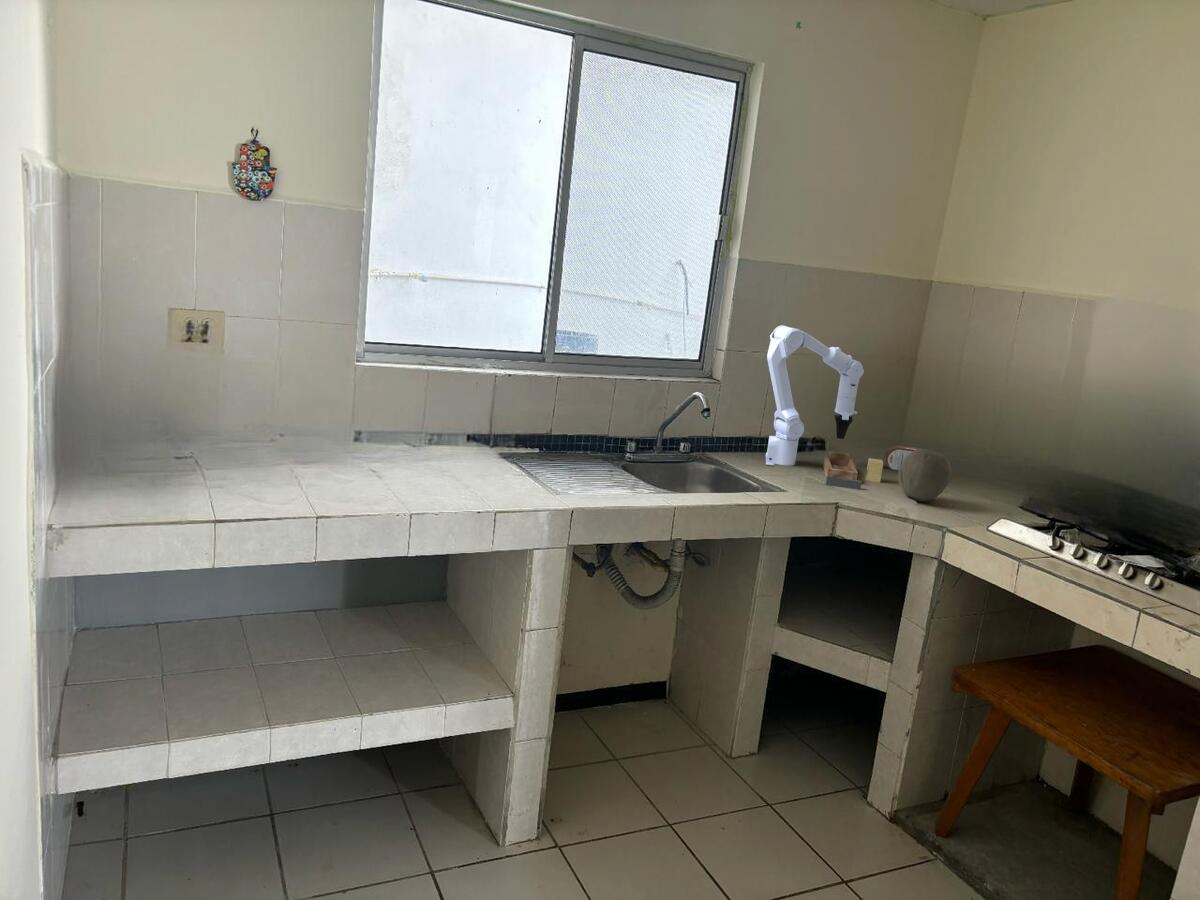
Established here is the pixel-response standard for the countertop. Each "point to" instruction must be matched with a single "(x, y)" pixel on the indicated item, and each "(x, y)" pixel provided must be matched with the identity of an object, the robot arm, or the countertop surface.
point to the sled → (839, 466)
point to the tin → (897, 456)
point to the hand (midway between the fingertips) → (840, 438)
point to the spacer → (874, 470)
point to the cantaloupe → (924, 474)
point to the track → (843, 482)
